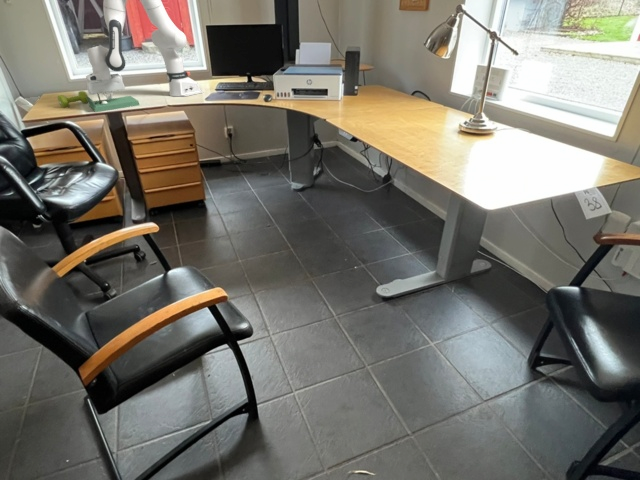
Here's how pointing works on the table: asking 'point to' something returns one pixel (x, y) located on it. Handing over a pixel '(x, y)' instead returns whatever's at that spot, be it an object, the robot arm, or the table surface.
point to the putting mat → (112, 103)
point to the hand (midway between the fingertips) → (109, 99)
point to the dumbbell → (72, 99)
